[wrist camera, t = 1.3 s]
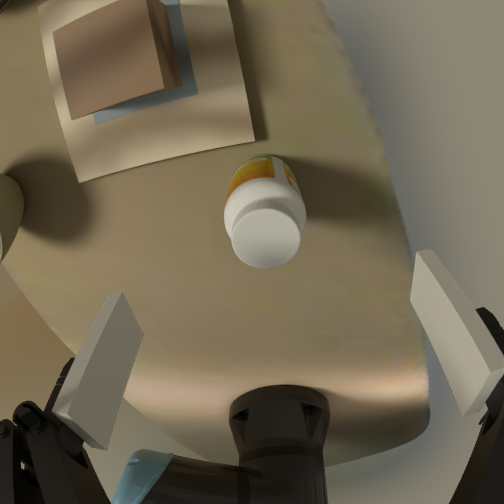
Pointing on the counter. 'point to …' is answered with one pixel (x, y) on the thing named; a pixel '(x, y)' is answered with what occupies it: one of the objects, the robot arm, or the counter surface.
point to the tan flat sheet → (159, 94)
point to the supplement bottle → (264, 212)
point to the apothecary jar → (3, 4)
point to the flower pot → (9, 212)
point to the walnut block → (116, 56)
